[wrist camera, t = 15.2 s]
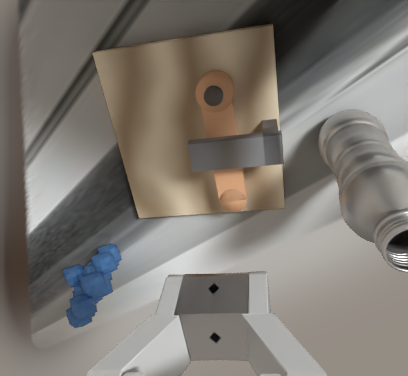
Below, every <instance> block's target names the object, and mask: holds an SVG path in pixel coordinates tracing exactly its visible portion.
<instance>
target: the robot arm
mask: <svg viewBox="0 0 408 376" xmlns="http://www.w3.org/2000/svg"><path fill="white" fill-rule="evenodd" d="M191 360H242V361H243V360H244V361H245V360H246V361H249V362H250V364H251V366H252V367H253V368H254V371H255V372H256V374H257V376H327V373H326V372H325V371H324V370H323V369H322V367H321V366H320V365H319V364H318V363H317V362H316V361H315V359H314V358H313V357H312V356H311V355H310V354H309V353H308V351H307V350H306V349H305V348H304V347H303V346H302V345H301V344H300V342H299V341H298V340H297V339H296V338H295V337H294V336H293V335H292V334H291V332H290V331H289V330H288V329H287V328H286V327H285V325H284V324H283V323H282V322H281V321H280V320H279V319H278V317H277V316H276V315H275V314H273V313H271V308H270V298H269V287H268V276H267V272H266V271H259V272H250V273H249V272H245V273H223V274H185V275H168V277H167V278H166V280H165V284H164V287H163V290H162V294H161V297H160V300H159V304H158V307H157V311H156V314H155V316H149V317H148V318H147V319H146V320H145V321H144V322H143V323H141V324H140V325H139V326H138V327H137V328H136V329H135V330H134V331H133V332H131V333H130V334H129V335H128V336H127V337H126V338H125V339H124V340H122V341H121V342H120V343H119V344H118V345H117V346H116V347H115V348H113V349H112V350H111V351H110V352H109V353H108V354H107V355H106V356H104V357H103V358H102V359H101V360H100V361H99V362H98V363H97V364H95V365H94V366H93V367H92V368H91V369H90V370H89V371H88V374H87V376H181V375H182V373H183V372H184V370H185V369H186V368H187V367H188V365H189V364H190V363H191V362H190V361H191Z"/></svg>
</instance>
